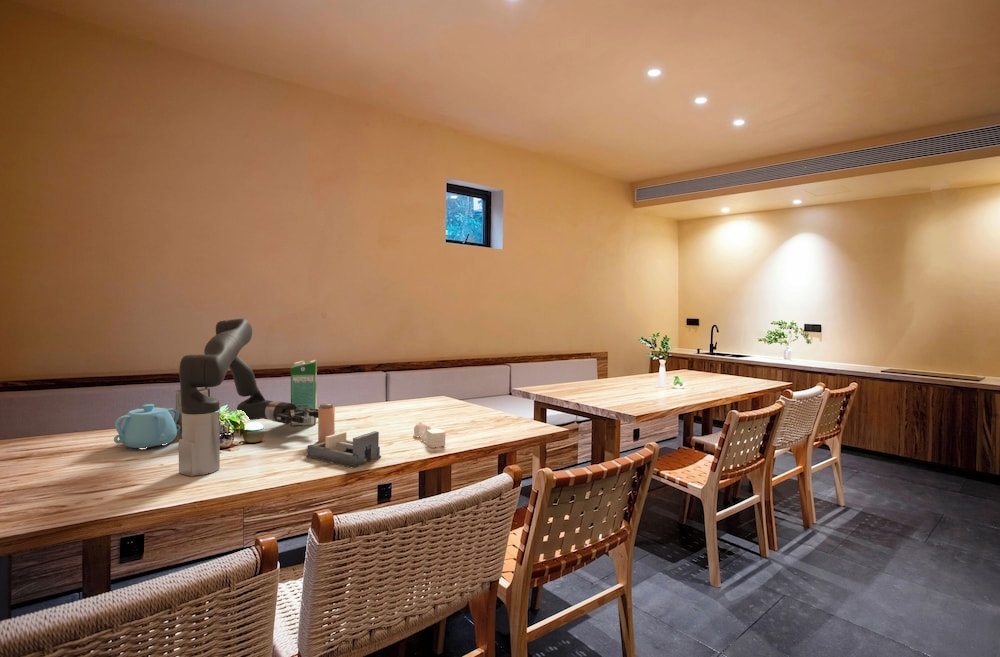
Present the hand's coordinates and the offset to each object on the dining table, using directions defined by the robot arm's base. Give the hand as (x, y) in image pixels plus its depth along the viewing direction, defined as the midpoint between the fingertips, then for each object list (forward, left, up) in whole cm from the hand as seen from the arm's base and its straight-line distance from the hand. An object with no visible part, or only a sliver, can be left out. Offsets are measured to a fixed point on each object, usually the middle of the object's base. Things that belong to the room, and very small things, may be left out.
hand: (312, 417), depth 178 cm
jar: (0, -7, -8) cm, 10 cm away
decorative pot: (-34, +38, -8) cm, 52 cm away
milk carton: (+14, +20, -8) cm, 26 cm away
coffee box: (-18, +40, -8) cm, 45 cm away
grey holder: (-10, -25, -8) cm, 28 cm away
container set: (+20, -36, -8) cm, 42 cm away
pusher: (-10, -27, -7) cm, 30 cm away
